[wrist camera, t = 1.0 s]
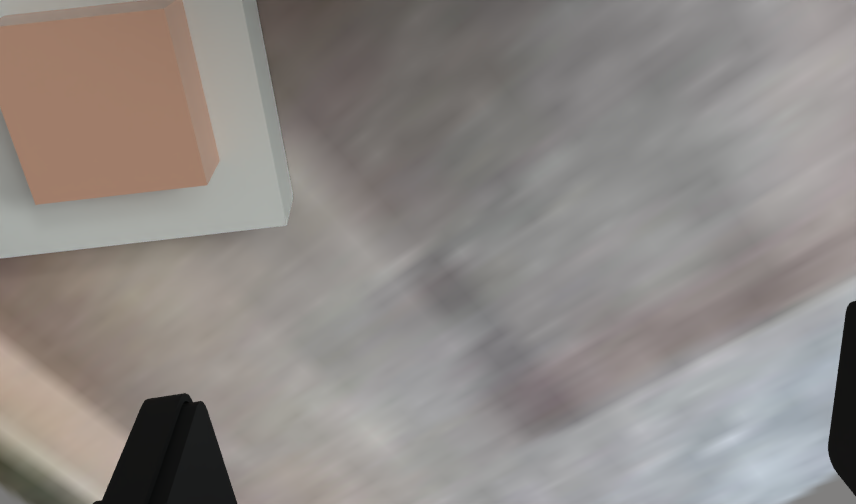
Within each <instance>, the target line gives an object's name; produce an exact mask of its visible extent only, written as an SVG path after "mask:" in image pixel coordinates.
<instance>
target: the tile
mask: <svg viewBox="0 0 856 504" xmlns="http://www.w3.org/2000/svg"><path fill="white" fill-rule="evenodd" d="M0 108H1V111H2V114H3V117H4V119H5V122H6V125H7V128H8V130H9V133H10V136H11V139H12V141H13V144H14V147H15V150H16V152H17V155H18V158H19V161H20V163H21V166H22V169H23V172H24V175H25V177H26V180H27V183H28V186H29V188H30V191H31V194H32V197H33V199H34V202H35V205H38V204H47V203H56V202H65V201H74V200H82V199H91V198H100V197H109V196H117V195H126V194H135V193H144V192H153V191H161V190H170V189H179V188H188V187H197V186H205V185H208V183H209V181H210V179H211V177H212V175H213V173H214V171H215V169H216V167H217V165H218V163H219V161H220V159H219V154H218V150H217V146H216V142H215V137H214V133H213V129H212V124H211V120H210V116H209V112H208V107H207V103H206V99H205V95H204V90H203V86H202V82H201V77H200V73H199V69H198V65H197V60H196V56H195V52H194V47H193V43H192V39H191V35H190V30H189V26H188V22H187V18H186V13H185V9H184V5H183V0H141V1H132V2H123V3H113V4H104V5H95V6H86V7H77V8H68V9H59V10H50V11H40V12H31V13H22V14H13V15H5V16H3V17H1V18H0Z"/></svg>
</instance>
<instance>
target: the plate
mask: <svg viewBox="0 0 856 504" xmlns="http://www.w3.org/2000/svg"><path fill="white" fill-rule="evenodd" d="M132 1H141V0H0V18H1V17H3V16H5V15H13V14H22V13H31V12H40V11H50V10H59V9H68V8H77V7H86V6H95V5H104V4H113V3H123V2H132ZM183 5H184V9H185V13H186V18H187V22H188V26H189V30H190V35H191V39H192V43H193V47H194V52H195V56H196V60H197V65H198V69H199V73H200V77H201V82H202V86H203V90H204V95H205V99H206V103H207V107H208V112H209V116H210V120H211V124H212V129H213V133H214V137H215V142H216V146H217V150H218V154H219V159H220V161H219V163H218V165H217V167H216V169H215V171H214V173H213V175H212V177H211V179H210V181H209V183H208V185H205V186H197V187H188V188H179V189H170V190H161V191H153V192H144V193H135V194H126V195H117V196H109V197H100V198H91V199H82V200H74V201H65V202H56V203H47V204H38V205H35V202H34V199H33V197H32V194H31V191H30V188H29V186H28V183H27V180H26V177H25V175H24V172H23V169H22V166H21V163H20V161H19V158H18V155H17V152H16V150H15V147H14V144H13V141H12V139H11V136H10V133H9V130H8V128H7V125H6V122H5V119H4V117H3V114H2V111H1V108H0V258H9V257H18V256H27V255H35V254H44V253H53V252H61V251H70V250H79V249H88V248H96V247H105V246H114V245H122V244H131V243H140V242H149V241H157V240H166V239H175V238H184V237H192V236H201V235H210V234H218V233H227V232H236V231H245V230H253V229H262V228H271V227H279V226H287V222H288V218H289V214H290V209H291V205H292V201H293V191H292V186H291V181H290V175H289V170H288V165H287V160H286V154H285V149H284V144H283V139H282V133H281V128H280V123H279V118H278V113H277V107H276V102H275V97H274V92H273V86H272V81H271V76H270V71H269V65H268V60H267V55H266V50H265V45H264V39H263V34H262V29H261V24H260V18H259V13H258V8H257V3H256V0H183Z"/></svg>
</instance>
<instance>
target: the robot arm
mask: <svg viewBox="0 0 856 504" xmlns="http://www.w3.org/2000/svg"><path fill="white" fill-rule="evenodd" d="M828 452H829V457H830V460H831V463H832V465H833V467H834V469H835V471H836V472H837V473H838V475H839V476H840V477H841V478H842V480H843V481H844V482H845V483H846V485H847V486H848V487H849V488H850V489H851V491H852V492H853V493H854V495H855V496H856V301H853V302H851V303H850V304H849V305H848V307H847V310H846V315H845V322H844V330H843V337H842V345H841V352H840V360H839V367H838V375H837V382H836V390H835V397H834V405H833V412H832V420H831V427H830V435H829V442H828ZM93 504H237V501H236V498H235V495H234V492H233V489H232V486H231V482H230V479H229V476H228V473H227V470H226V467H225V464H224V461H223V458H222V454H221V451H220V448H219V445H218V442H217V439H216V436H215V433H214V429H213V426H212V423H211V420H210V417H209V414H208V411H207V408H206V406H205V404H204V403H203V402H202V401H199V402H193V401H192V399H191V398H190V396H189V395H188V394H186V393H184V394H177V395H171V396H164V397H158V398H151V399H147V400H145V401H144V403H143V404H142V406H141V409H140V411H139V413H138V416H137V418H136V421H135V423H134V425H133V428H132V430H131V433H130V435H129V437H128V440H127V442H126V444H125V447H124V449H123V452H122V454H121V456H120V459H119V461H118V464H117V466H116V468H115V471H114V473H113V475H112V478H111V480H110V483H109V485H108V487H107V490H106V492H105V495H104V497H103V499H102V500H101V501H96V502H94V503H93Z"/></svg>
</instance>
